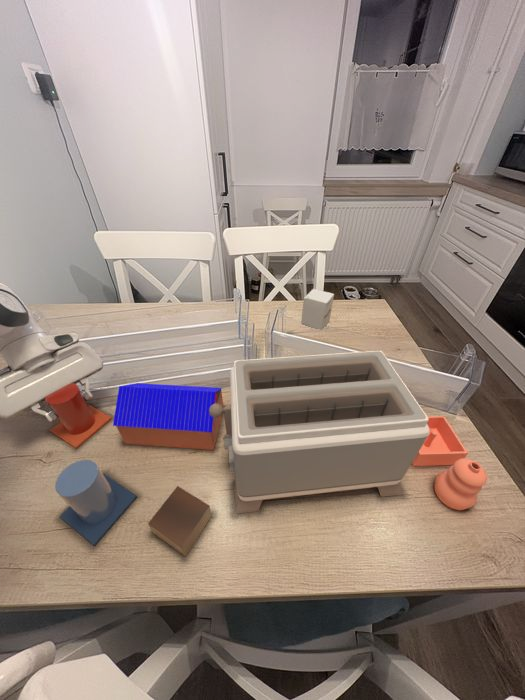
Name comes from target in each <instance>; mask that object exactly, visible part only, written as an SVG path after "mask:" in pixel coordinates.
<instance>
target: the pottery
mask: <svg viewBox="0 0 525 700" xmlns="http://www.w3.org/2000/svg"><path fill="white" fill-rule="evenodd" d="M427 417H428V418H429V421H428V422H427V425H428V427H429V435H428V437H427V439H426V440H425V442H424V444H423V445H422V447H421V449H420V450H419V452H418V454H417V455H416V457H415V459H414V460H413V462H412V464H411V465H412V466H413V467H429V466H430V467H431V466H450V467H448V469H447V470H444V471H442V472H440V473H438V475H436V478H435V481H434V492H435V494H436V496H437V497H438V499H439V500H440V502H442V503H443V504H444V506H447V507H448V508H450V509H451V510H456V511H464V510H466V509H470V508H472V507H473V506H474V505H475V504H476V502H477V499H478V493H480V492H481V491H482V488H483V486H485V485H486V484H487V481H488V475H487V472H486V470H485V469H484V468H483V467H482V465H481V464H480V462H478V461H475V460H472V459H469V458H466V457H467V456H468V454H469V452H468V450H467V449H466V448H465V446H464V444H463V442H462V441H461V439H460V438H459V436H458V435H457V433H456V432H455V430H454V429H453V427H452V426H451V424H450V423H449V421H448V420H447V418H446V416H445V415H427Z"/></svg>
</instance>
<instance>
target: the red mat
mask: <svg viewBox="0 0 525 700" xmlns="http://www.w3.org/2000/svg"><path fill="white" fill-rule="evenodd" d="M87 404H88V405H89V407H90V409H91V411H92V413H93V414H94V416H95V422H94V424H93V426H92V427H91V428H90V429H88V430H87V431H85V432H83V433H81V434H77V435H72V434H69V433H67V431H66V430H65V429H64V427H63V426H62V424H61V423H60V422H58V423H57V424H56V425H55V426H52V428H50V429H49V432H51V433H52V434H54V435H55V436H56V437H58V438H60V439H61V440H63V441H64V442H66V444H68V445H70V446H71V447H73V448H74V449H78V448H79V447H81V446H82V445H83V444H84V443H86V441H88V440H89V439H90V438H92V436H94V435H95V434H96V433H98V431H100V430H101V429H103V427H104V426H105V425H106V424H108V423H109V422H110V421H111V420H113V418H112V417H111V416H110V415H108V414H106V413H104V411H101V410H99V409H97V408H95V407H94V406H92V405H90V404H89V403H87Z"/></svg>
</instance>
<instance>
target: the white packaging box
mask: <svg viewBox="0 0 525 700" xmlns="http://www.w3.org/2000/svg"><path fill="white" fill-rule="evenodd" d="M334 297H335V293H332V292H328V291H325V290H322V289H321V290H320V289H316V288H312V289H311V290H310V291H309V292H308V293H307V294H306V295H305V296H304V297H303V301H302V313H301V319H300V320H301V321H300V325H301V324H302V325H305V326H308V327H311V328H315V329H320V330H322V329H323V328H324V327H326V326H327V324H328V323H329V324H330V320H331V315H332V310H333V304H334Z"/></svg>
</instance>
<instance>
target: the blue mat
mask: <svg viewBox="0 0 525 700" xmlns="http://www.w3.org/2000/svg"><path fill="white" fill-rule="evenodd" d="M102 474H103V475H104V477H105V478H106V480H107V481H108V483H109V485H110V486H111V488H112V489H113V491H114V492H115V494H116V496H117V503H116V506H115V508H114V510H113V512H112V513H111V514H110V515H109V516H108V517H107V518H106V519H104V520H103V521H101V522H99V523H95V524H88V523H85V522H84V521H83V520H82V519H81V518H80V517H79V516H78V515H77V514H76V513H75V512H74V511H73V509H72V508H71V507H70V506H69V507H67V508H66V509H65V510H64V512H61V514H60V515H59V518H60V519H61V520H63V522H65V523H66V524H67V525H69V526H70V527H71V528H72V529H73V530H75V531H76V532H77V533H78V534H79V535H80V536H82V537H83V538H84V539H85V540H86V541H88V542H89V543H90V544H91V545H93V546H94V547H96V545H97V544H98V543H99V542H100V541H101V540H102V538H104V537H105V535H106V534H107V533H108V532H109V531H110V529H111V528H112V527H113V526H114V525H115V524H116V523H117V521H118V520H119V519H120V518H121V517H122V515H124V513H125V512H127V510H128V509H129V507H130V506H131V505H133V503H134V502H135V500H136V499H138V496H137V495H136V494H135V493H133V492H132V491H131V490H129V489H127V488H126V487H124V486H123V485H122V484H120V483H119V482H117V481H116V480H114V479H113V478H111V477H110V476H109V475H107V474H106V473H103V472H102Z"/></svg>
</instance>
